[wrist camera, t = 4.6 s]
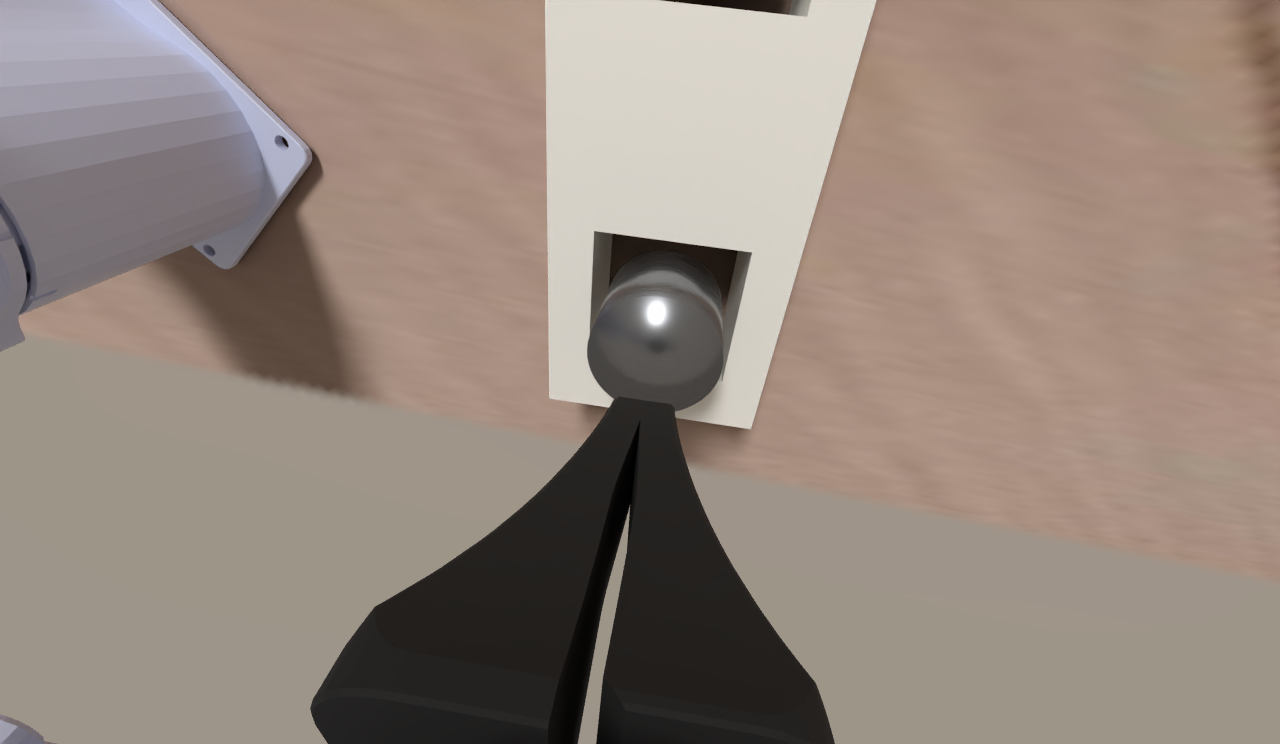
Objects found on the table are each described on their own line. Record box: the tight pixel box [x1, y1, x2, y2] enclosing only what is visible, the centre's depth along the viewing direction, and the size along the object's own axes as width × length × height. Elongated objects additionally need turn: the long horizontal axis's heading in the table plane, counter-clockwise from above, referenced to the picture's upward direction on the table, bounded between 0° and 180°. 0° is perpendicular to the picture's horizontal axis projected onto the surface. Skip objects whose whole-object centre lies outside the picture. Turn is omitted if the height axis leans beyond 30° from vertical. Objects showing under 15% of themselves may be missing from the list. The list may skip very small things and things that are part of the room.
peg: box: [587, 250, 723, 411], centre depth 16 cm, size 4×4×4 cm
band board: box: [545, 0, 876, 429], centre depth 16 cm, size 20×8×4 cm, turn 174°
